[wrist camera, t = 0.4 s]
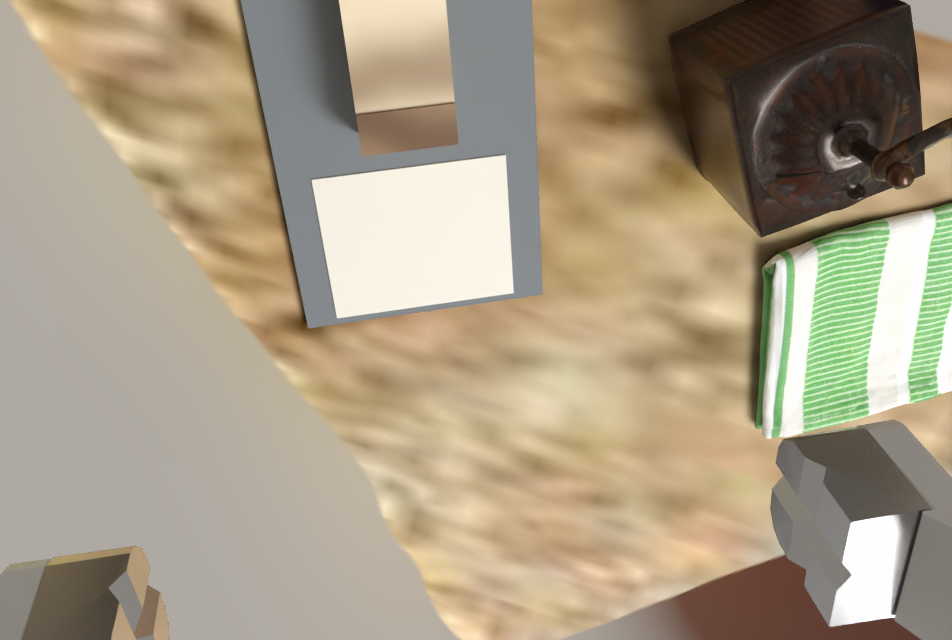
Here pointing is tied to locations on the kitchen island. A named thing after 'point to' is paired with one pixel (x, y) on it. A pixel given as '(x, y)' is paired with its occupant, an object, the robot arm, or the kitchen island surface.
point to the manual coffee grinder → (803, 105)
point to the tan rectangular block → (400, 74)
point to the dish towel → (856, 323)
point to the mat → (402, 168)
